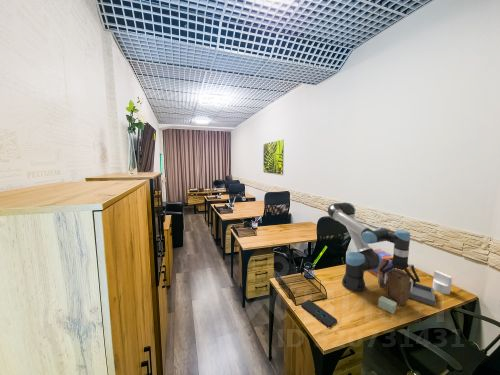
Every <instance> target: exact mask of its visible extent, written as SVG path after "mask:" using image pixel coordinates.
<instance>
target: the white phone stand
mask: <svg viewBox="0 0 500 375" xmlns="http://www.w3.org/2000/svg"><path fill="white" fill-rule="evenodd" d="M433 273H434V274H433V278H432V288H433V291H436V292H437V293H440V294H443V295H450V294H451V289H452V280H453V276H450V275H449V274H446V273H444V272H441V271H440V270H434V272H433Z"/></svg>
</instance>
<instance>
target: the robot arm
mask: <svg viewBox="0 0 500 375" xmlns="http://www.w3.org/2000/svg"><path fill="white" fill-rule="evenodd" d="M355 213H356V208H355V206H354V205H353V204H352V203H351V202H339V203H337V202H336V203H331V204H330V205H329V206H328V207H327V214H328V216H329V217H330V218H331V219H332V220H334V221H336V222H337V221H338V222H339V223H340V224H342V225H344V226H345V227H346V230H347V231H348V234H349V235H350V238H351V240H352V241H353V244H354V246H355V248H356V250H357V251H352V252H349V253H347V255H346V258H345V273H344V275H343V277H342V279H341V284H342V286H343V287H344V288H346V289H347V290H349V291H351V292H355V293H362V292H364V291H366V288H367V287H366V282H365V279H364V275H365V274H364V273H365V272H368V271H369V270H374V269H377V268H379V267H380V266H381V264H382V259H381V256H380V255H379V254H378V253H377V252H374V251H373V250H374V249H373V247H371V246H369V244H371V245H372V244H376V243H381V242H389V243H392V244H393V254H392V255H393V260H389V259H387V261H386V263H385V264H384V265H383V266H382V267H381V268H380V272H382V273H383V278H385V279H384V283H385V284H386V275H387V273H386V272H388V271H390V270H391V269H394V268H396V269H399V270H402V271H404V272H405V273H407V274H408V275H409V277H410V281H411V292H412V289H413V287H415V284H416V283H421V280H420V278H419V275H418V273H417V271H416V269H415V266H414V265H415V264H409V255H410V254H409V253H410V243H411V232H410V231H407V230H404V229H396V230H395V231H394V230H391V229H388V228H386V227H377V228H376V229H375V230H373V229H371V228H369V227H367V226H366V225H364V224H363V223H361V222H360V221H358V220H356V219H355V217H356V215H355ZM390 262H392V264H393V265H392V266H390V267H388V268H387V269H385V270H383V269H384V268H385V267H386V266H387V265H388V263H390ZM408 268H409V269H410V270H411V272H410V271H409V269H408Z"/></svg>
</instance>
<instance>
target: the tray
mask: <svg viewBox="0 0 500 375" xmlns="http://www.w3.org/2000/svg"><path fill="white" fill-rule="evenodd" d="M411 281H412V280H410V287H409V296H408V299H411V300H415V301H418V302H420V303H423V304H426V305H430V306H433V307H435V306H436V298H435V292H434V291H435V290H434V289H433V288H432V287H431V286H429V285H425V284H421V283H419V282H416V284H415V287H413V289H412V292H411Z"/></svg>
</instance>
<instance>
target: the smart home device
mask: <svg viewBox="0 0 500 375" xmlns="http://www.w3.org/2000/svg"><path fill="white" fill-rule="evenodd" d="M301 306H302V308H303V310H305V311H306V310H307V311H306V312H308V313H309V314H310V313H311V314H312V315H311V314H310V315H311V316H312V317H314V318H315V317H316V318H315V319H317V320H318V321H319V320H320V321H321V322H320V321H319V322H320V323H322V325H324V326H325V325H326V326H325V327H326V328H328V327H330V328H331V327H332V326H333V325H336V323H337V322H338V319H337V318H336V317H334V315H332V314H330V313H329V312H327V311H326V310H325V309H323V308H322V307H320V306H319V305H318V304H316V303H315V302H313V301H312V300H310V299H308V300H306V301H304V302H302V303H300V307H301Z"/></svg>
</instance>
